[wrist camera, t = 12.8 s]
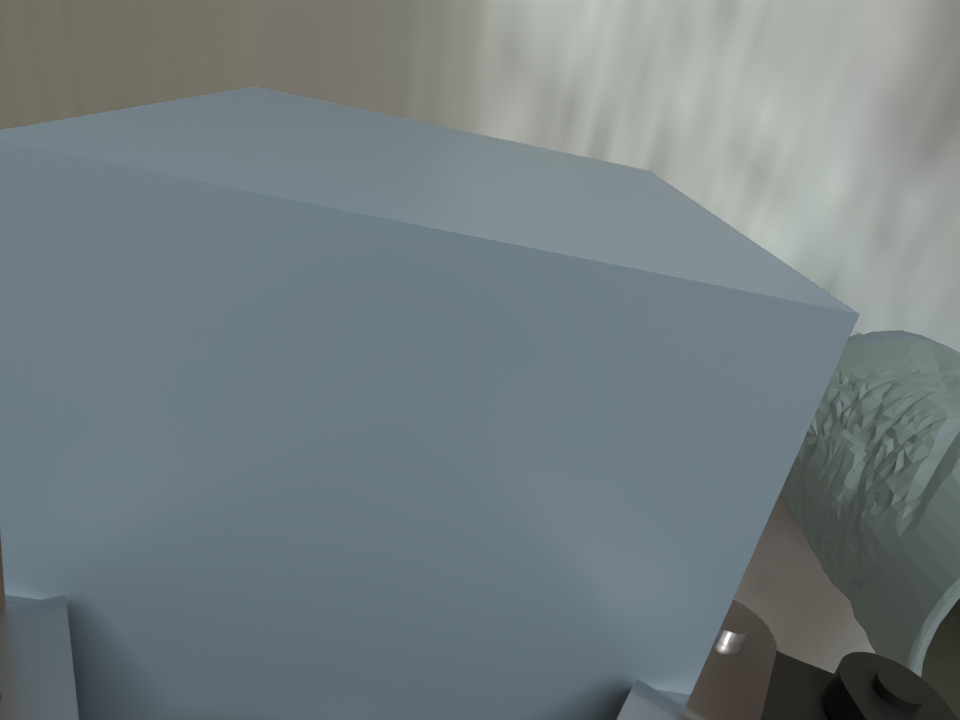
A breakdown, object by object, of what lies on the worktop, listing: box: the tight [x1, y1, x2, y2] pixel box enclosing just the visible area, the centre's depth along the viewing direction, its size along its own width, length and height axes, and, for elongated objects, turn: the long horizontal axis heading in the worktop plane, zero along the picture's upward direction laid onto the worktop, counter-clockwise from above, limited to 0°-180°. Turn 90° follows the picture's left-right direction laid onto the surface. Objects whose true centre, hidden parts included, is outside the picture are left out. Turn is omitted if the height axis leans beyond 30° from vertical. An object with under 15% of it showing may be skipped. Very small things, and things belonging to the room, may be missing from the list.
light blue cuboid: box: [0, 86, 859, 720], centre depth 11 cm, size 7×11×7 cm, turn 168°
